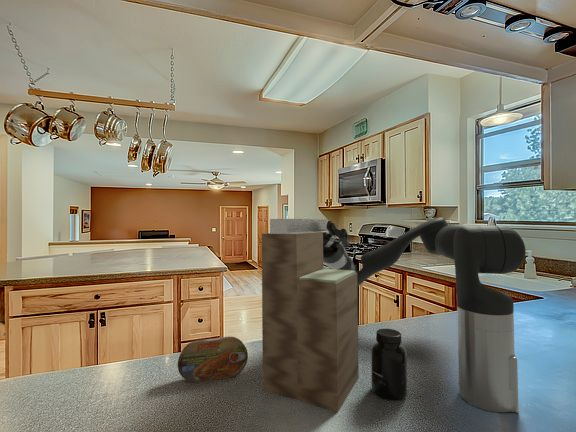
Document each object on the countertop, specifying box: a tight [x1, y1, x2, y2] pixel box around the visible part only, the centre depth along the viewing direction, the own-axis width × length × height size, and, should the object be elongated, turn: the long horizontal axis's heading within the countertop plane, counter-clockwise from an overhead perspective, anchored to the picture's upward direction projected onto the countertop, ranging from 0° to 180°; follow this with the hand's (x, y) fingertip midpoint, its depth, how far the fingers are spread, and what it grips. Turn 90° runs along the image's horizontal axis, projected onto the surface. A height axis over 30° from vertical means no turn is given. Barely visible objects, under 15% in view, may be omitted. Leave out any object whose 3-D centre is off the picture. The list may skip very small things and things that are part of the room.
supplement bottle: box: [370, 328, 408, 402], centre depth 63 cm, size 7×7×12 cm
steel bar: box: [269, 218, 328, 234], centre depth 72 cm, size 4×22×3 cm, turn 152°
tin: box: [177, 336, 249, 383], centre depth 70 cm, size 15×3×8 cm, turn 105°
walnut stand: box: [261, 231, 360, 413], centre depth 66 cm, size 16×14×32 cm
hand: (312, 224), depth 78 cm, fingers open, 8 cm apart
